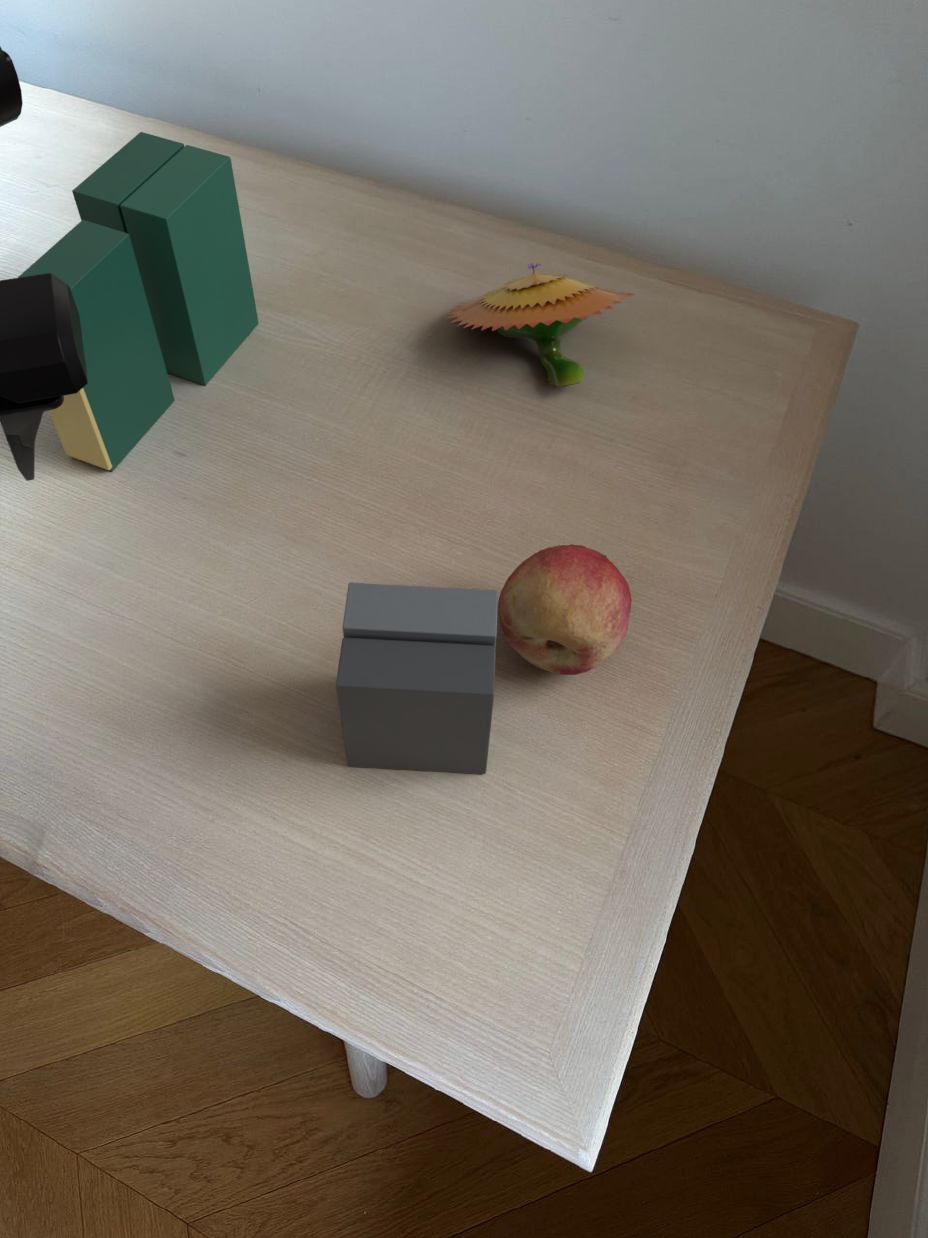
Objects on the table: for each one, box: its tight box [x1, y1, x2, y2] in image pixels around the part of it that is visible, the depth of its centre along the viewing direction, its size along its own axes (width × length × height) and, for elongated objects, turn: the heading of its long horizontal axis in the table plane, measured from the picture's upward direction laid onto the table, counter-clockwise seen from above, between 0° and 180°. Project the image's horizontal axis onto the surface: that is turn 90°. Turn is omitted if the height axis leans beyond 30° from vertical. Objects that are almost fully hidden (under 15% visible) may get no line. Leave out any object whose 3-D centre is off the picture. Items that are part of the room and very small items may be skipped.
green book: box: [17, 220, 175, 472], centre depth 67 cm, size 8×4×14 cm, turn 157°
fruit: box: [497, 543, 632, 676], centre depth 60 cm, size 8×8×8 cm
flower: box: [446, 262, 634, 388], centre depth 77 cm, size 15×13×8 cm
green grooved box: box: [71, 131, 259, 386], centre depth 73 cm, size 8×7×14 cm
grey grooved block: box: [335, 582, 499, 775], centre depth 56 cm, size 8×6×10 cm
